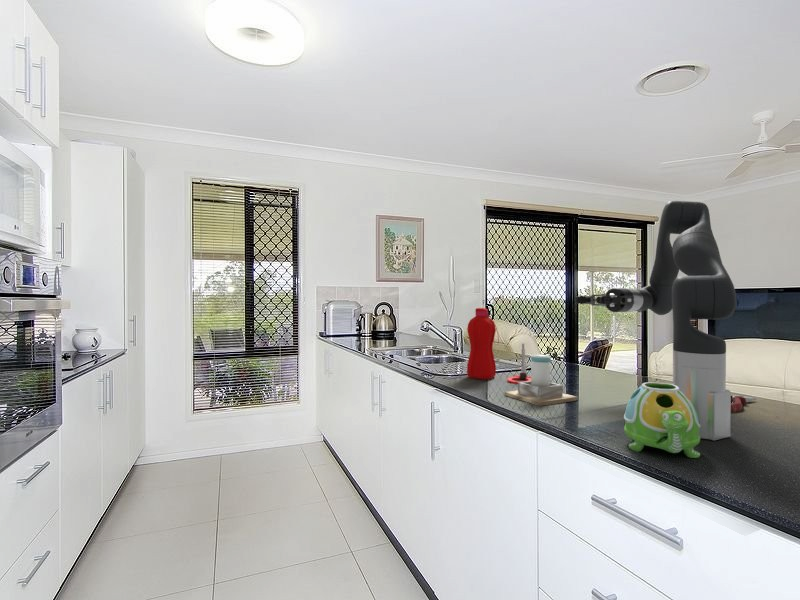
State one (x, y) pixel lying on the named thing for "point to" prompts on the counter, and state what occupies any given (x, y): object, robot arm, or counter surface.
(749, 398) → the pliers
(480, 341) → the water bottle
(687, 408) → the turtle holder
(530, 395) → the wooden square holder
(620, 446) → the counter surface
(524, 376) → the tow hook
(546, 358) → the cylindrical container
